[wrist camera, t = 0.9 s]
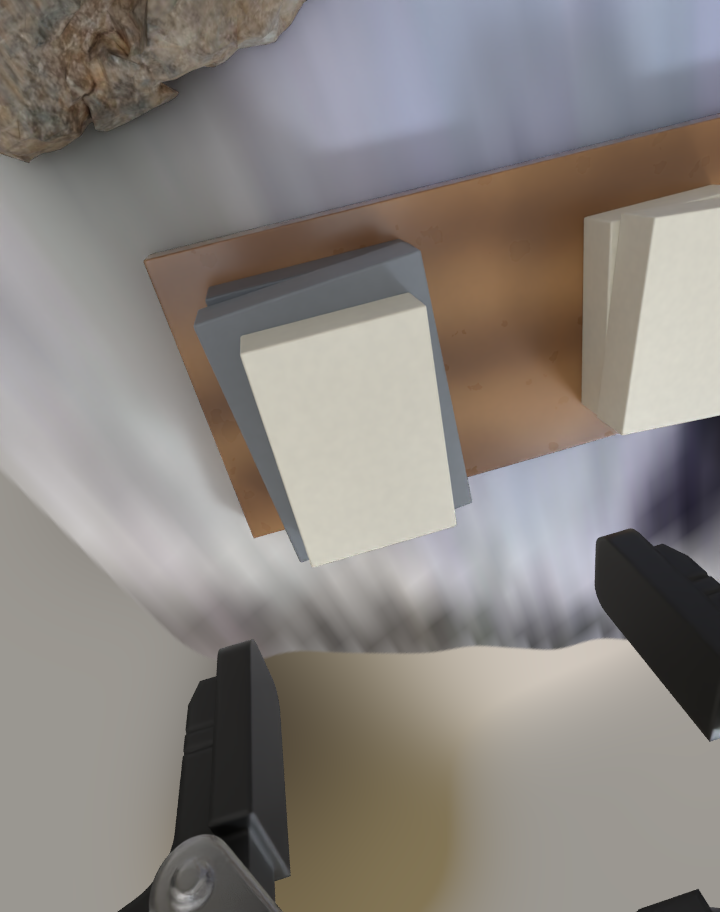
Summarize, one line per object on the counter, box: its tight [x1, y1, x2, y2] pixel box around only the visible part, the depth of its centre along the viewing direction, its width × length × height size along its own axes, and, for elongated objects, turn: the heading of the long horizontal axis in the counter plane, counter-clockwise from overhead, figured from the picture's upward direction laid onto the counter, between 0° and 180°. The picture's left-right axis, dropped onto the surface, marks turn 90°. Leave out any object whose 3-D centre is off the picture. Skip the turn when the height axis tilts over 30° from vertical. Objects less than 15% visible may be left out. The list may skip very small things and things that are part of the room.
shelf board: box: [144, 113, 720, 538], centre depth 25 cm, size 14×28×2 cm, turn 102°
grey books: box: [194, 239, 472, 562], centre depth 22 cm, size 12×9×4 cm
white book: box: [240, 293, 457, 568], centre depth 20 cm, size 9×6×2 cm, turn 12°
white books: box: [582, 185, 720, 435], centre depth 23 cm, size 10×7×4 cm
